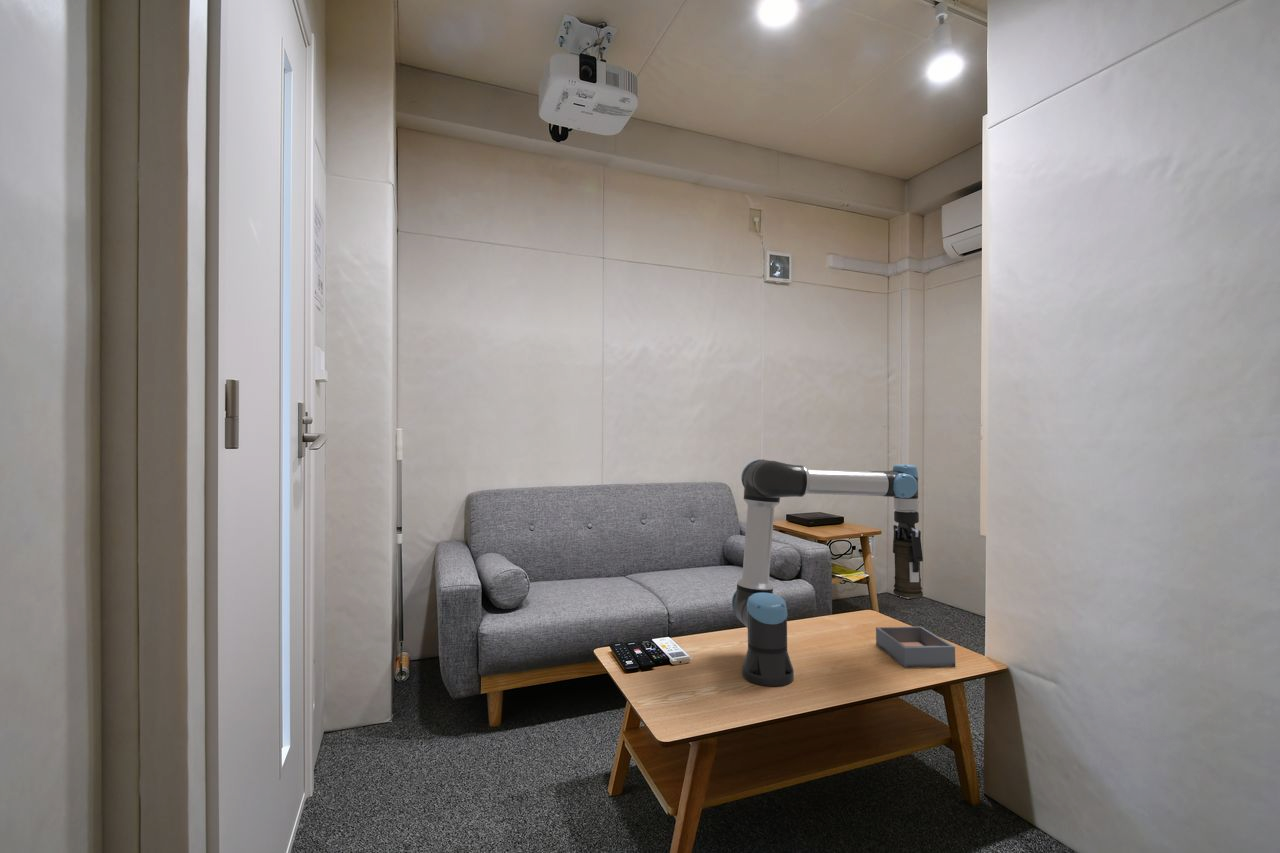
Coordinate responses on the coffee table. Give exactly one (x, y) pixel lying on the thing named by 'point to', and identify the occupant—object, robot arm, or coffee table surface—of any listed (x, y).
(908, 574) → the container
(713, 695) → the coffee table surface
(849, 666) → the coffee table surface
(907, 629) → the walled box
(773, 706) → the coffee table surface
